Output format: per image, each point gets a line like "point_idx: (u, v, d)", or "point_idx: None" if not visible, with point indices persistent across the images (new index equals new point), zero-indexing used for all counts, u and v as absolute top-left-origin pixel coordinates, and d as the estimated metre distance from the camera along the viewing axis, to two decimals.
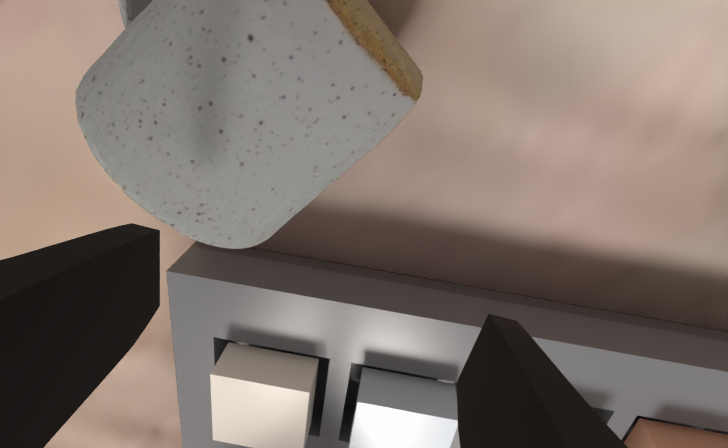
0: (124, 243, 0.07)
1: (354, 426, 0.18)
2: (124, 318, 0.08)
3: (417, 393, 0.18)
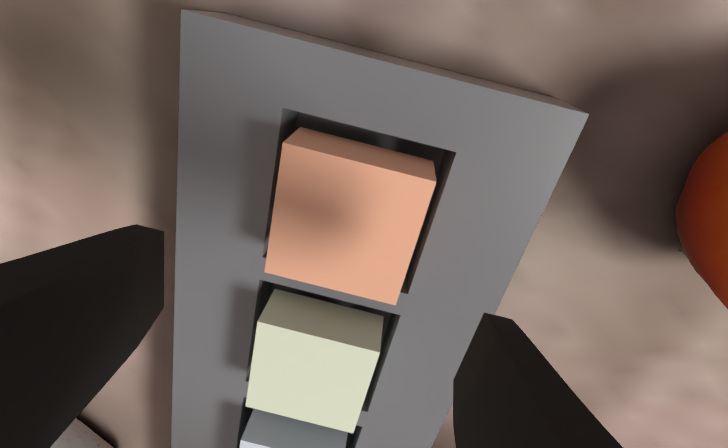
0: (129, 244, 0.07)
1: None
2: (129, 319, 0.08)
3: None
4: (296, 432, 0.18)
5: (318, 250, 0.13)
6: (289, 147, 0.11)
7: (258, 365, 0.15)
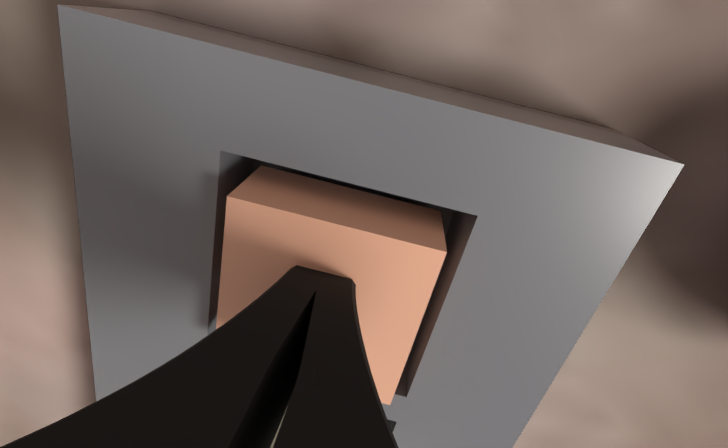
0: (314, 291, 0.07)
1: None
2: (299, 362, 0.08)
3: None
4: None
5: None
6: (237, 202, 0.08)
7: None
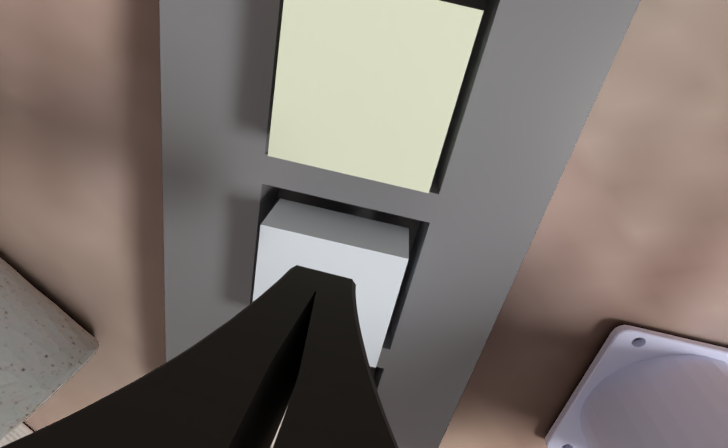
0: (314, 291, 0.07)
1: None
2: (298, 362, 0.08)
3: None
4: (338, 227, 0.13)
5: None
6: None
7: (287, 65, 0.10)
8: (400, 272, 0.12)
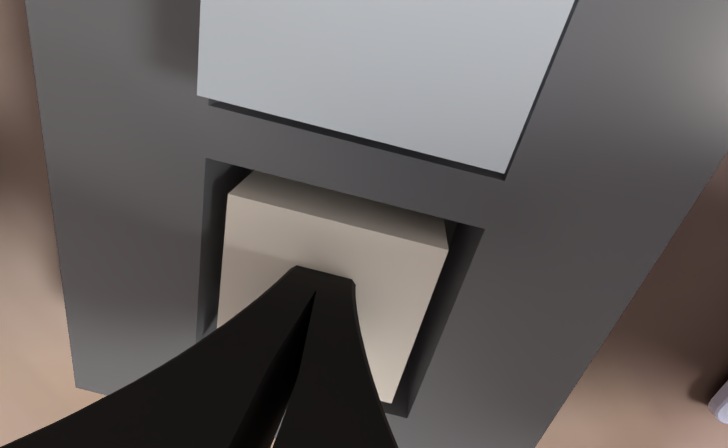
0: (314, 291, 0.07)
1: (307, 118, 0.06)
2: (299, 362, 0.08)
3: None
4: None
5: None
6: None
7: None
8: None
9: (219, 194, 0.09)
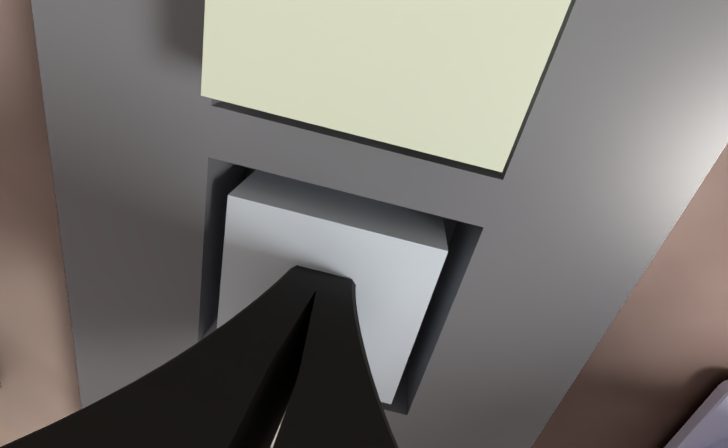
0: (314, 291, 0.07)
1: None
2: (298, 362, 0.08)
3: None
4: (343, 203, 0.09)
5: None
6: None
7: None
8: (434, 271, 0.08)
9: None
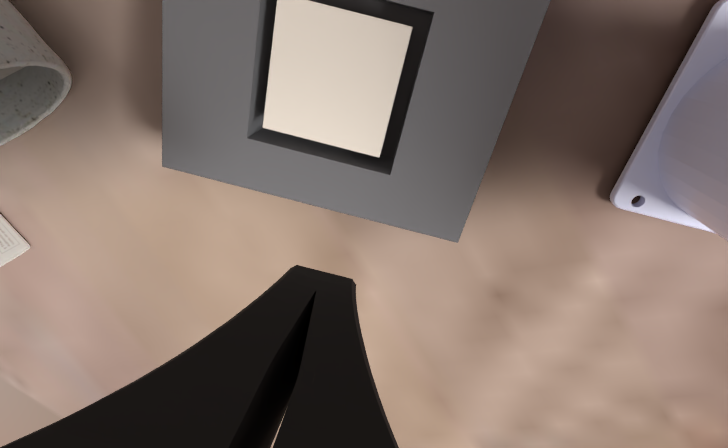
0: (314, 291, 0.07)
1: None
2: (298, 362, 0.08)
3: None
4: None
5: None
6: None
7: None
8: None
9: (267, 8, 0.14)
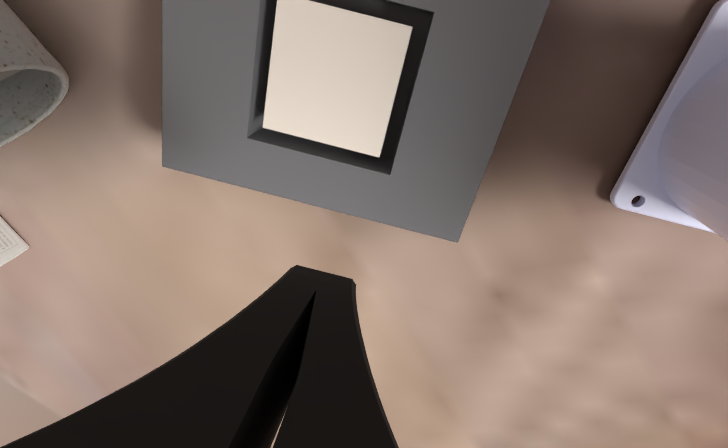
0: (314, 291, 0.07)
1: None
2: (298, 362, 0.08)
3: None
4: None
5: None
6: None
7: None
8: None
9: (267, 8, 0.14)
